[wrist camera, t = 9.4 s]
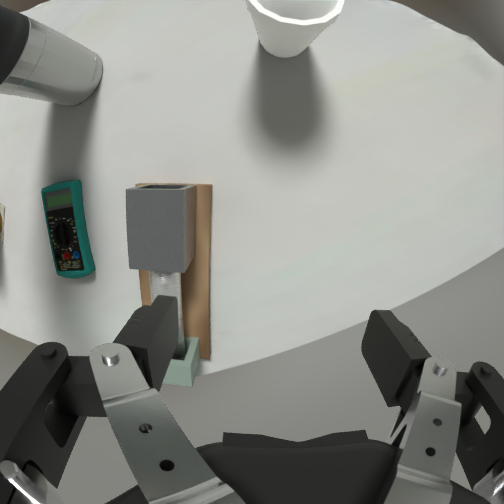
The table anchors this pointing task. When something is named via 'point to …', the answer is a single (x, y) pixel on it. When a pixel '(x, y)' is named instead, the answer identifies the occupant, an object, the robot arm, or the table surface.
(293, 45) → the foam cup
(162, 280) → the tube
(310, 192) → the table surface
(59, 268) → the digital multimeter
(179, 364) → the socket
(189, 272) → the board
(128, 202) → the sleeve
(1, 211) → the condiment
